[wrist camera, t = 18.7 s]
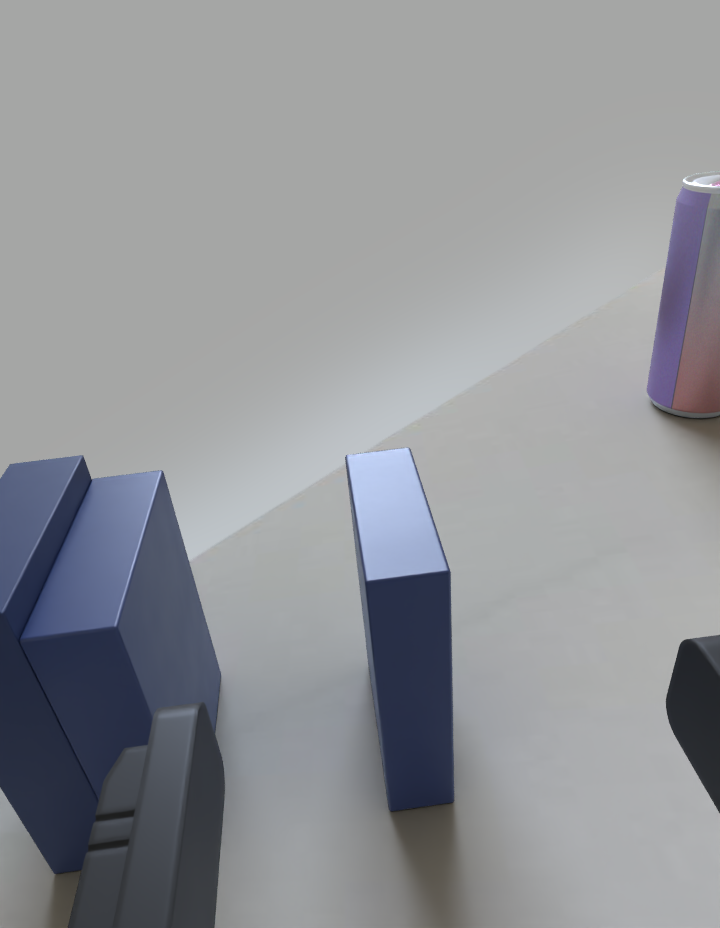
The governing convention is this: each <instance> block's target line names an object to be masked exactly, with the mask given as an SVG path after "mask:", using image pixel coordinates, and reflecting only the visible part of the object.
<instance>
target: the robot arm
mask: <svg viewBox="0 0 720 928" xmlns="http://www.w3.org/2000/svg"><path fill="white" fill-rule="evenodd" d="M666 709H667V715H668V719H669V723H670V725H671V728H672V730H673V733H674V735H675V737H676V738H677V740H678V742H679V744H680V745H681V747H682V749H683V751H684V752H685V754H686V756H687V757H688V759H689V761H690V763H691V764H692V766H693V768H694V770H695V771H696V773H697V775H698V776H699V778H700V780H701V782H702V783H703V785H704V787H705V789H706V790H707V792H708V794H709V795H710V797H711V799H712V801H713V802H714V804H715V806H716V808H717V809H718V811H719V813H720V635H716V636H708V637H701V638H693V639H686V640H684V641H682V642H681V644H680V647H679V650H678V654H677V658H676V662H675V666H674V669H673V673H672V677H671V681H670V685H669V689H668V693H667V697H666ZM224 794H225V782H224V768H223V761H222V757H221V753H220V750H219V746H218V743H217V740H216V737H215V733H214V730H213V727H212V723H211V720H210V717H209V714H208V710H207V707H206V705H205V703H204V702H199V703H191V704H184V705H176V706H169V707H161V708H158V709H157V710H156V711H155V713H154V716H153V720H152V725H151V730H150V736H149V741H148V745H143V746H136V747H129V748H124V750H123V751H122V753H121V754H120V756H119V757H118V759H117V761H116V762H115V764H114V765H113V767H112V768H111V770H110V771H109V773H108V775H107V776H106V778H105V779H104V782H103V786H102V790H101V794H100V798H99V802H98V806H97V810H96V814H95V817H96V820H95V823H93V826H92V831H91V835H90V839H89V843H88V852H87V853H86V855H85V859H84V863H83V867H82V871H81V875H80V879H79V884H78V888H77V892H76V896H75V900H74V904H73V908H72V912H71V916H70V920H69V924H68V928H214V925H215V912H216V899H217V886H218V873H219V860H220V847H221V834H222V821H223V808H224Z"/></svg>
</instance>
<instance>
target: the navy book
mask: <svg viewBox="0 0 720 928" xmlns="http://www.w3.org/2000/svg"><path fill="white" fill-rule="evenodd" d="M345 460H346V469H347V478H348V487H349V495H350V504H351V513H352V522H353V531H354V540H355V549H356V558H357V567H358V576H359V585H360V593H361V602H362V611H363V620H364V629H365V638H366V647H367V656H368V664H369V672H370V679H371V686H372V693H373V700H374V707H375V714H376V722H377V729H378V736H379V743H380V750H381V757H382V764H383V772H384V779H385V786H386V793H387V800H388V807H389V810H390V811H397V810H404V809H411V808H418V807H425V806H432V805H439V804H446V803H452V802H454V754H453V692H452V631H451V572H450V569H449V566H448V563H447V560H446V557H445V554H444V551H443V548H442V544H441V541H440V538H439V535H438V532H437V529H436V526H435V523H434V520H433V517H432V514H431V511H430V508H429V505H428V501H427V498H426V495H425V492H424V489H423V486H422V483H421V480H420V477H419V474H418V471H417V468H416V465H415V462H414V458H413V455H412V452H411V450H410V448H400V449H392V450H384V451H375V452H367V453H359V454H352V455H346V457H345Z"/></svg>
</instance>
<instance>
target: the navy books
mask: <svg viewBox="0 0 720 928" xmlns="http://www.w3.org/2000/svg"><path fill="white" fill-rule="evenodd" d="M220 679H221V672H220V669H219V665H218V662H217V658H216V655H215V651H214V648H213V644H212V641H211V637H210V634H209V630H208V627H207V623H206V620H205V616H204V613H203V609H202V606H201V602H200V599H199V595H198V592H197V588H196V585H195V581H194V578H193V574H192V571H191V567H190V564H189V560H188V557H187V553H186V550H185V546H184V543H183V539H182V536H181V532H180V529H179V525H178V522H177V518H176V515H175V511H174V508H173V504H172V501H171V497H170V494H169V490H168V487H167V483H166V480H165V477H164V473H163V471H162V470H160V471H151V472H143V473H135V474H128V475H119V476H111V477H103V478H95V479H91V476H90V474H89V471H88V468H87V465H86V462H85V460H84V457H83V456H82V455H80V456H73V457H65V458H56V459H48V460H40V461H31V462H23V463H15V464H10V465H9V467H8V468H7V470H6V471H5V473H4V474H3V475H2V477H1V479H0V788H1V789H2V791H3V792H4V794H5V796H6V797H7V799H8V800H9V802H10V804H11V805H12V807H13V808H14V810H15V812H16V813H17V815H18V816H19V818H20V820H21V821H22V823H23V824H24V826H25V828H26V829H27V831H28V832H29V834H30V836H31V837H32V839H33V840H34V842H35V844H36V845H37V847H38V849H39V850H40V852H41V853H42V855H43V857H44V858H45V860H46V861H47V863H48V865H49V866H50V868H51V869H52V871H53V873H54V874H58V873H64V872H71V871H78V870H82V867H83V863H84V859H85V855H86V853H87V852H88V843H89V839H90V835H91V831H92V826H93V823H95V820H96V817H95V814H96V810H97V806H98V802H99V798H100V794H101V790H102V786H103V782H104V779H105V778H106V776H107V775H108V773H109V771H110V770H111V768H112V767H113V765H114V764H115V762H116V761H117V759H118V757H119V756H120V754H121V753H122V751H123V750H124V748H129V747H136V746H143V745H148V741H149V736H150V730H151V725H152V720H153V716H154V713H155V711H156V710H157V709H158V708H161V707H169V706H176V705H184V704H191V703H199V702H204V703H205V705H206V707H207V710H208V714H209V717H210V720H211V723H212V727H213V730H214V733H215V728H216V718H217V708H218V699H219V689H220Z"/></svg>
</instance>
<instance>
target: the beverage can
mask: <svg viewBox="0 0 720 928" xmlns="http://www.w3.org/2000/svg"><path fill="white" fill-rule="evenodd" d="M647 393H648V395H649V397H650V399H651V401H652V402H653V404H654V405H655V406H656V407H658V408H659V409H661V410H663V411H665V412H667V413H670V414H673V415H677V416H682V417H688V418H710V417H716V416H719V415H720V171H715V172H706V173H699V174H695V175H690V176H688V177H686V178H684V180H683V187H682V189H681V191H680V193H679V195H678V197H677V200H676V206H675V213H674V219H673V226H672V232H671V238H670V245H669V251H668V257H667V264H666V270H665V276H664V283H663V289H662V295H661V302H660V308H659V315H658V321H657V327H656V334H655V340H654V346H653V353H652V359H651V366H650V372H649V378H648V385H647Z"/></svg>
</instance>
